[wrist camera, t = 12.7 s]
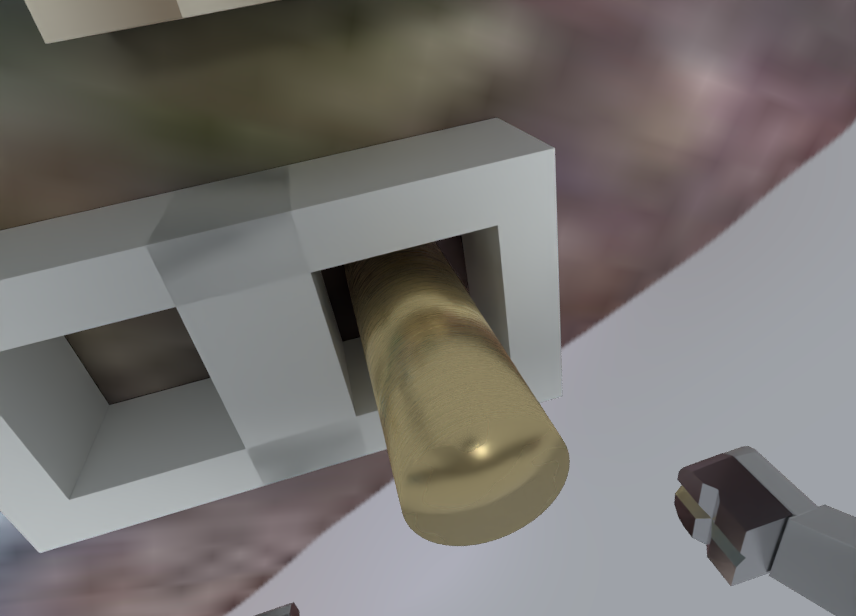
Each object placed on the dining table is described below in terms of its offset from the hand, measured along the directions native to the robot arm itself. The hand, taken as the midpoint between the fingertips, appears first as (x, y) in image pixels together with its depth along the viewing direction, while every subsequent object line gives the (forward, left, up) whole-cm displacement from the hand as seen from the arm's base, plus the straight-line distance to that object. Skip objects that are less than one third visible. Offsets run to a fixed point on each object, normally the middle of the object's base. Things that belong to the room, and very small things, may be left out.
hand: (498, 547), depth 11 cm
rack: (-5, 0, -14) cm, 14 cm away
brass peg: (0, 0, -14) cm, 14 cm away
